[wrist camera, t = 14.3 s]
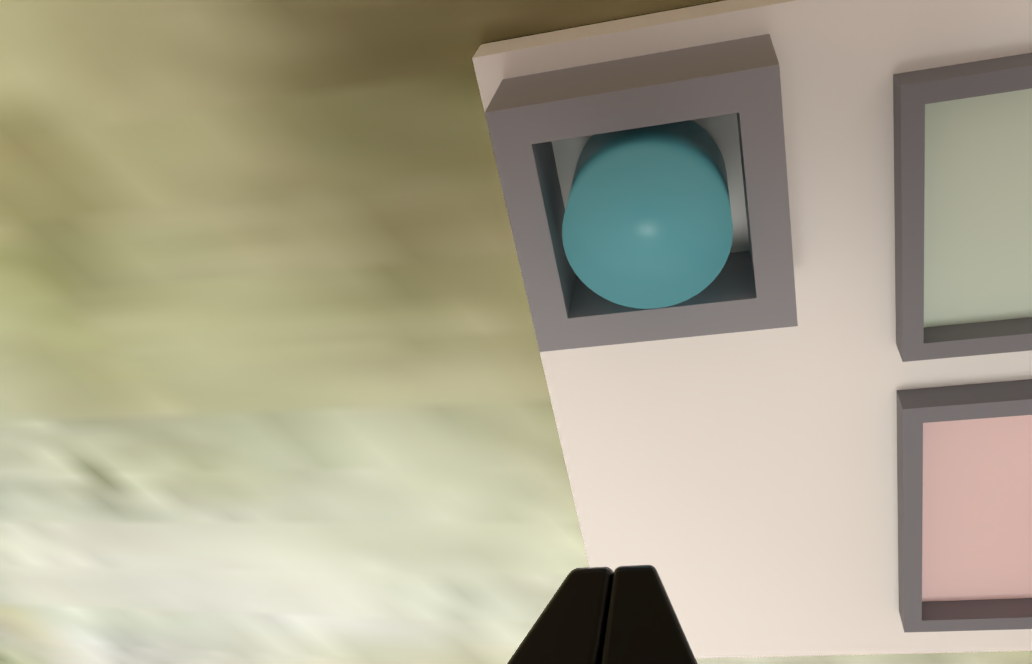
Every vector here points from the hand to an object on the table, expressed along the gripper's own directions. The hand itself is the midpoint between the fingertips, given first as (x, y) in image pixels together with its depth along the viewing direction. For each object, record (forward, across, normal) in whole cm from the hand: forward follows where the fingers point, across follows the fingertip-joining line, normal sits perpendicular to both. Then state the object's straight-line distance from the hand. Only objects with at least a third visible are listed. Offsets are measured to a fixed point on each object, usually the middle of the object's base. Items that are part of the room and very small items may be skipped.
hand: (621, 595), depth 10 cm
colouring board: (+12, -6, +6) cm, 14 cm away
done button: (+11, 0, 0) cm, 11 cm away
